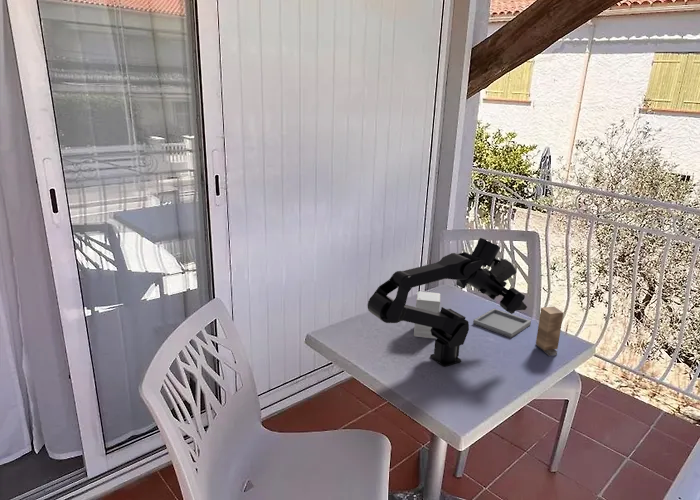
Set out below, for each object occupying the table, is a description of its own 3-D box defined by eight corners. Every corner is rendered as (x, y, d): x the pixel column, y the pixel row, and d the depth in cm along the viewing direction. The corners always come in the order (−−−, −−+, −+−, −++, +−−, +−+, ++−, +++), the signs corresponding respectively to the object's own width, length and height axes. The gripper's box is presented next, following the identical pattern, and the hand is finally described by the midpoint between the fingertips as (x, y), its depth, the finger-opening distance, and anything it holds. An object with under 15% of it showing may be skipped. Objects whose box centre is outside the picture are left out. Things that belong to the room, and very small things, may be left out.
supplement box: (437, 339, 151) (440, 302, 147) (413, 336, 152) (415, 299, 149) (437, 328, 158) (440, 292, 154) (415, 326, 159) (417, 290, 156)
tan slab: (546, 356, 142) (552, 315, 139) (532, 344, 149) (538, 305, 145) (559, 354, 143) (566, 314, 139) (545, 343, 150) (551, 304, 146)
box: (511, 338, 153) (511, 333, 152) (473, 323, 162) (473, 319, 161) (530, 324, 162) (531, 320, 162) (493, 312, 171) (494, 308, 171)
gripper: (516, 268, 127) (553, 292, 134) (479, 244, 144) (514, 266, 151) (492, 303, 129) (529, 324, 136) (458, 275, 146) (493, 296, 152)
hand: (516, 301), depth 143 cm, fingers open, 9 cm apart
